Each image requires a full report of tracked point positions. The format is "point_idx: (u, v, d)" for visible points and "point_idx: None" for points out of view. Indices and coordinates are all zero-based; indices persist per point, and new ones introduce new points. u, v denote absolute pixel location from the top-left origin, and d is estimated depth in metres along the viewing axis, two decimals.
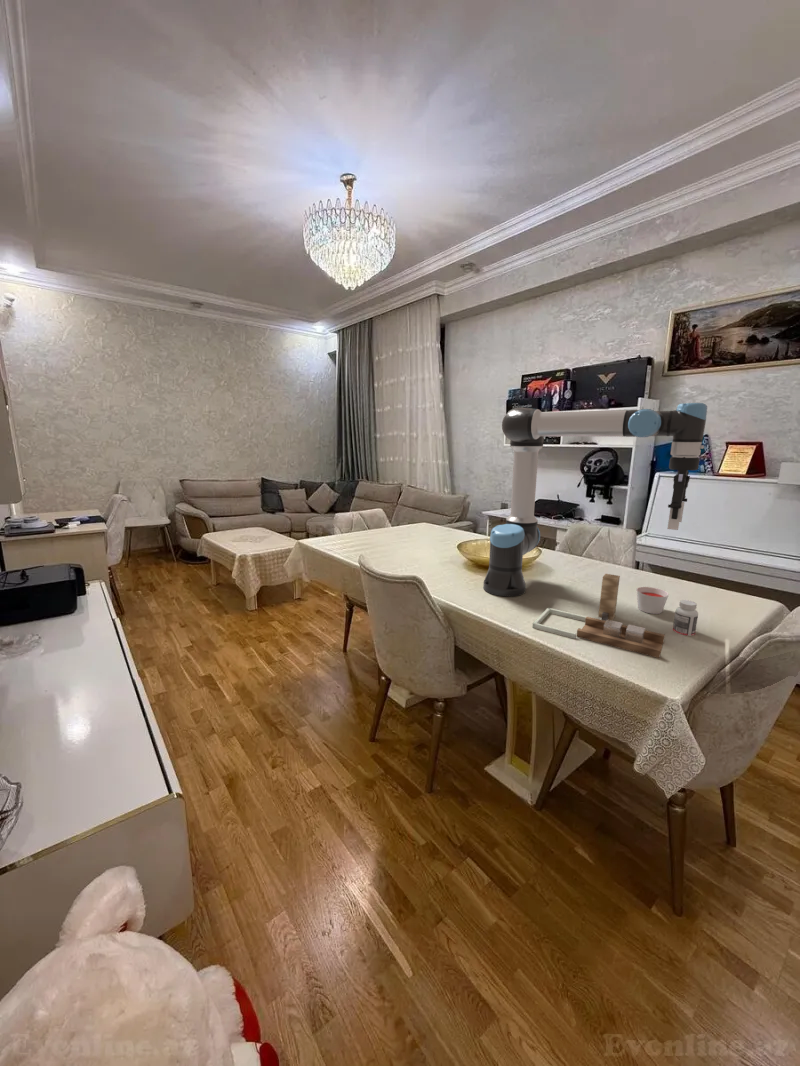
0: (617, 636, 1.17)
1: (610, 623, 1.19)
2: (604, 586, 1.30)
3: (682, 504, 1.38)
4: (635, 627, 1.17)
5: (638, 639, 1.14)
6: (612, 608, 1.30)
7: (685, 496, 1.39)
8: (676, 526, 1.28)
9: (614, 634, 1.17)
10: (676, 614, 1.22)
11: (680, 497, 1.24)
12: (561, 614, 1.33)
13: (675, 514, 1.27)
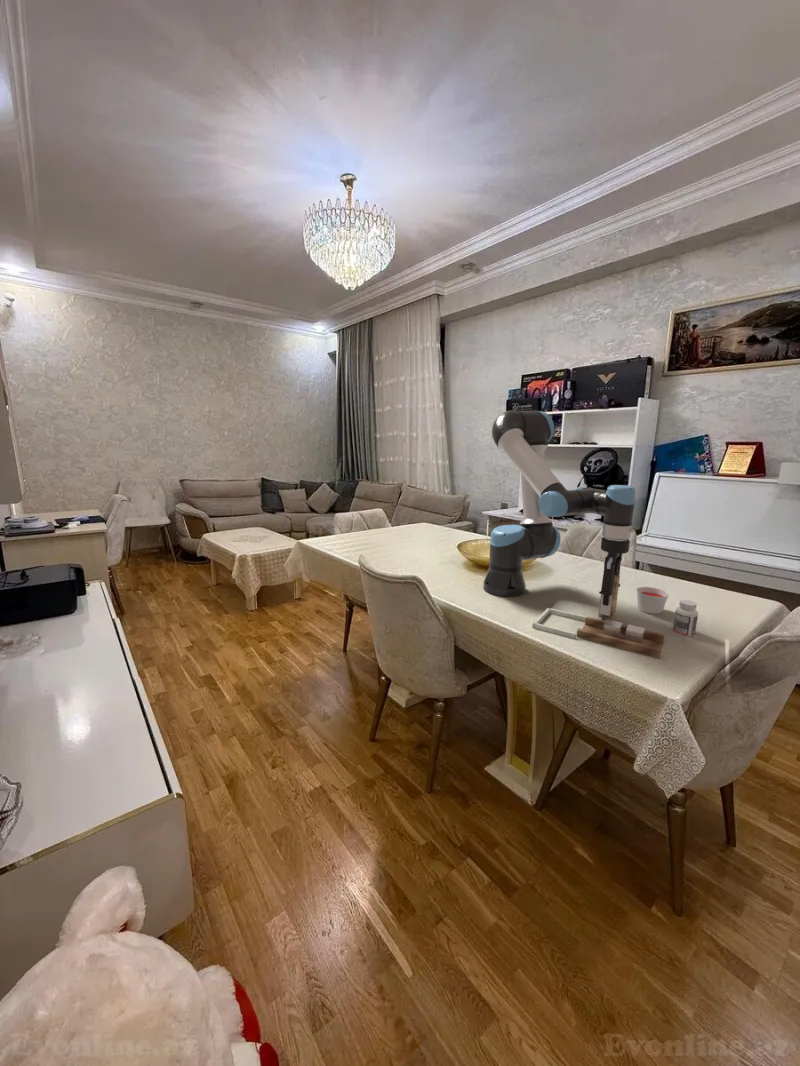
0: (617, 636, 1.17)
1: (610, 623, 1.19)
2: None
3: None
4: (635, 627, 1.17)
5: (638, 639, 1.14)
6: (612, 608, 1.30)
7: None
8: (607, 612, 1.29)
9: (614, 634, 1.17)
10: (676, 614, 1.22)
11: (609, 586, 1.24)
12: (561, 614, 1.33)
13: (606, 601, 1.27)
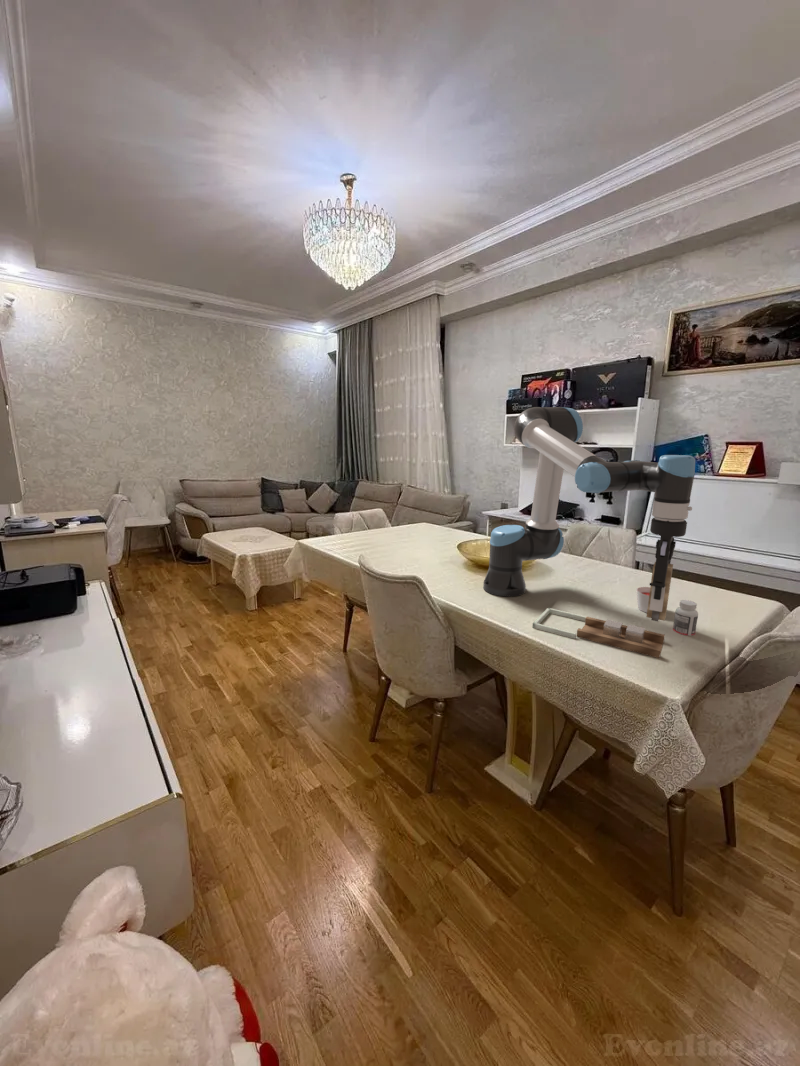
0: (617, 636, 1.17)
1: (610, 623, 1.19)
2: None
3: None
4: (635, 627, 1.17)
5: (638, 639, 1.14)
6: (665, 603, 1.08)
7: None
8: (659, 607, 1.07)
9: (614, 634, 1.17)
10: (676, 614, 1.22)
11: (663, 576, 1.03)
12: (561, 614, 1.33)
13: (658, 594, 1.06)
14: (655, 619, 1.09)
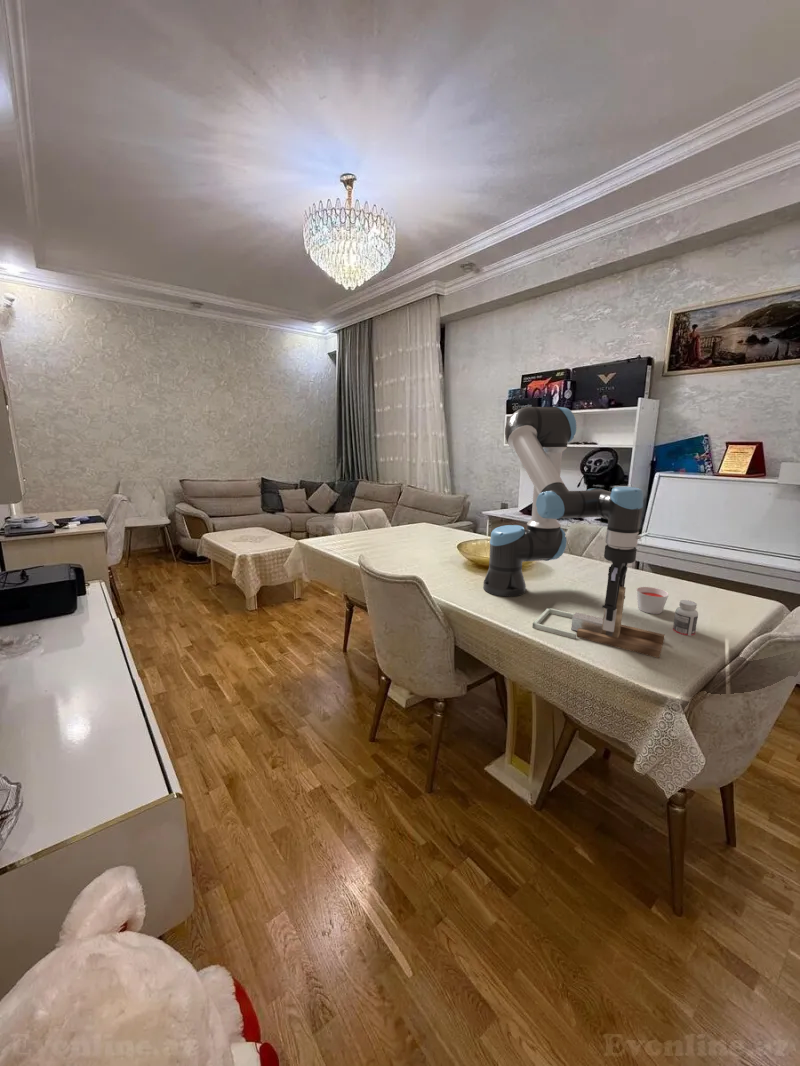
0: (585, 628, 1.22)
1: (578, 615, 1.24)
2: None
3: None
4: (596, 618, 1.22)
5: (598, 629, 1.20)
6: (617, 624, 1.17)
7: None
8: (611, 628, 1.15)
9: (582, 626, 1.22)
10: (676, 614, 1.22)
11: (613, 600, 1.11)
12: (561, 614, 1.33)
13: (610, 616, 1.14)
14: None
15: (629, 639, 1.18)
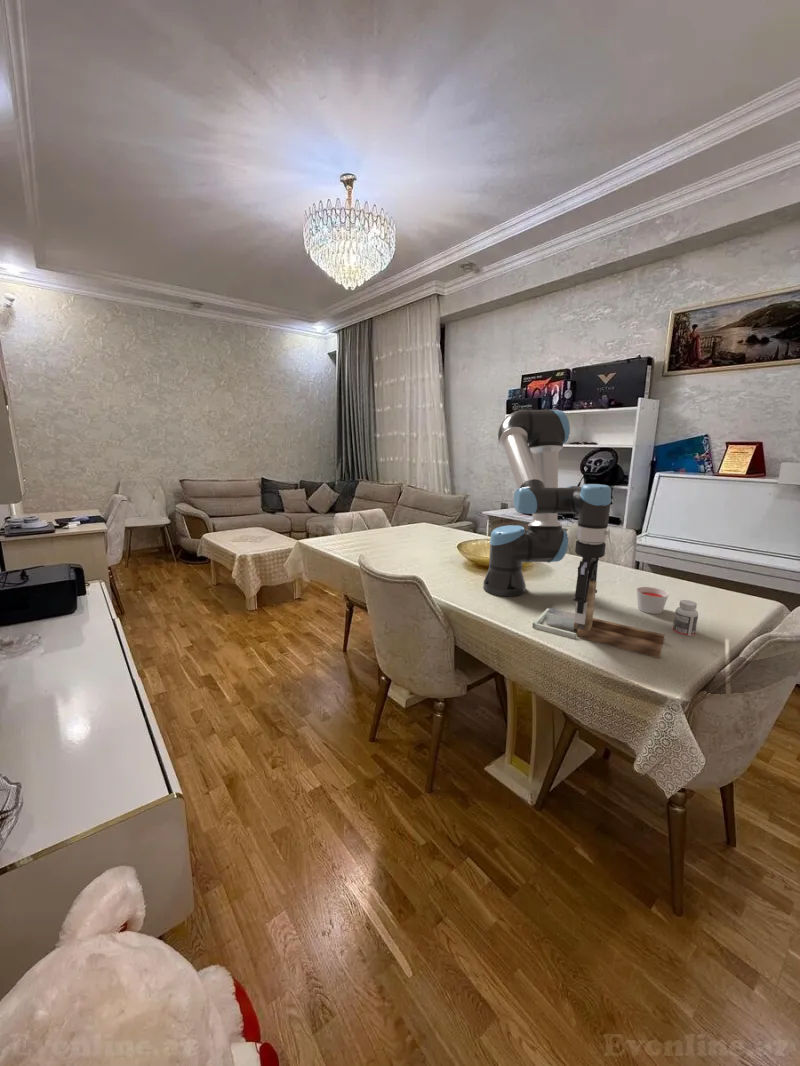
0: (558, 623, 1.26)
1: (553, 610, 1.28)
2: None
3: None
4: (569, 613, 1.26)
5: (570, 624, 1.24)
6: (588, 616, 1.21)
7: None
8: (582, 620, 1.20)
9: (555, 621, 1.26)
10: (676, 614, 1.22)
11: (583, 593, 1.15)
12: None
13: (580, 609, 1.18)
14: None
15: (629, 639, 1.18)
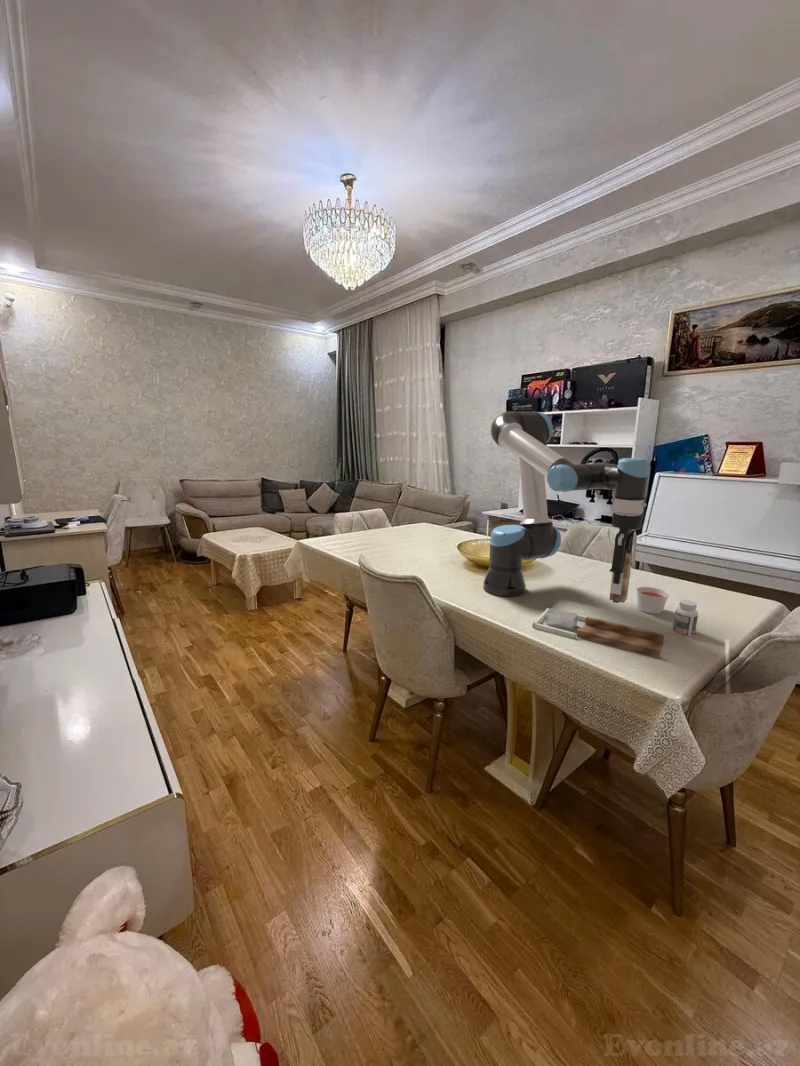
0: (558, 623, 1.26)
1: (552, 610, 1.28)
2: None
3: None
4: (569, 613, 1.26)
5: (570, 624, 1.24)
6: (624, 587, 1.24)
7: None
8: (618, 591, 1.23)
9: (555, 621, 1.26)
10: (676, 614, 1.22)
11: (620, 563, 1.19)
12: None
13: (616, 579, 1.22)
14: (616, 601, 1.25)
15: (629, 639, 1.18)
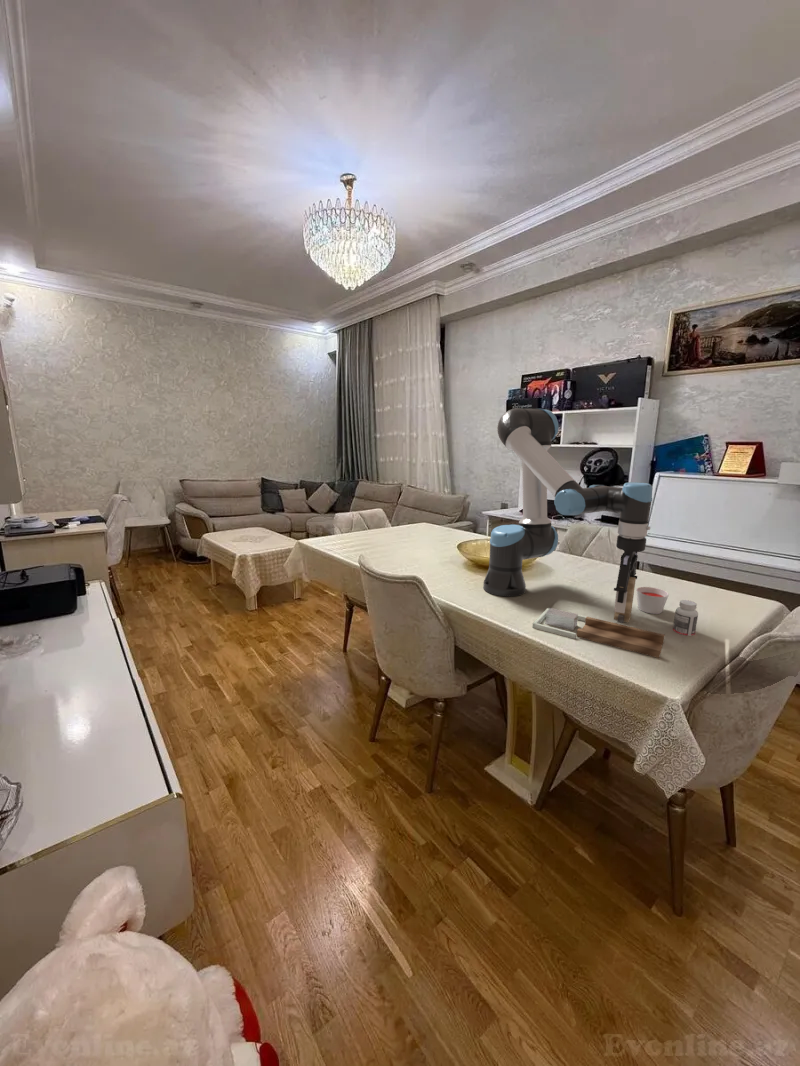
0: (558, 623, 1.26)
1: (552, 610, 1.28)
2: None
3: None
4: (569, 613, 1.26)
5: (570, 624, 1.24)
6: (628, 611, 1.28)
7: (635, 573, 1.35)
8: (622, 609, 1.25)
9: (555, 621, 1.26)
10: (676, 614, 1.22)
11: (625, 582, 1.21)
12: None
13: (621, 598, 1.23)
14: None
15: (629, 639, 1.18)
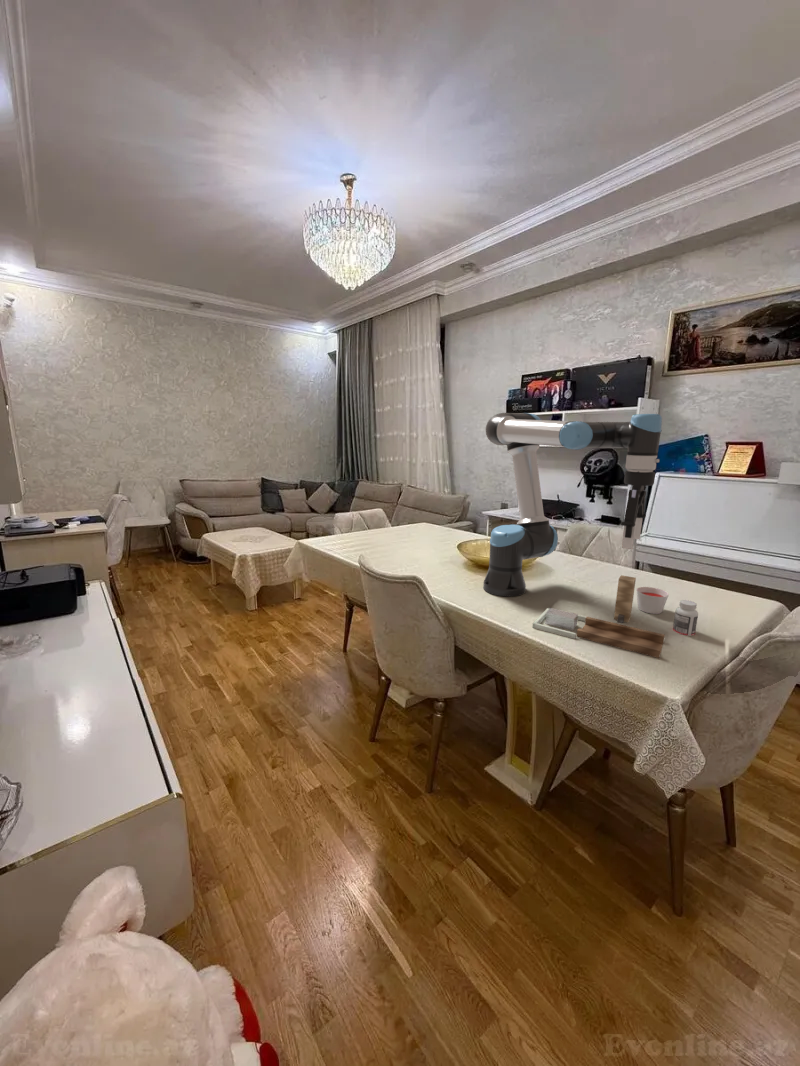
0: (558, 623, 1.26)
1: (552, 610, 1.28)
2: (620, 588, 1.28)
3: (640, 520, 1.29)
4: (569, 613, 1.26)
5: (570, 624, 1.24)
6: (628, 611, 1.28)
7: None
8: (630, 545, 1.20)
9: (555, 621, 1.26)
10: (676, 614, 1.22)
11: (633, 515, 1.16)
12: None
13: (628, 532, 1.18)
14: None
15: (629, 639, 1.18)
